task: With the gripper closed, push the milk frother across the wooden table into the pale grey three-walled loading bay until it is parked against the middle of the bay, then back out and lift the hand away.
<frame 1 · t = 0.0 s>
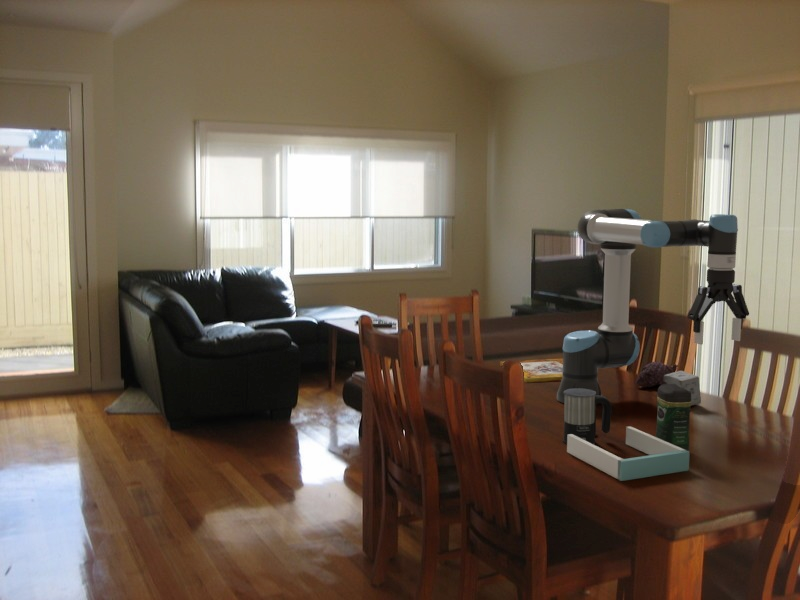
hand: (717, 342, 244), 28 cm above the table, fingers open, 13 cm apart
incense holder: (681, 404, 284), on the table
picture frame: (544, 373, 332), on the table
loading bay: (625, 460, 226), on the table
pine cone: (655, 387, 308), on the table
milk frother: (578, 438, 247), on the table
coffee jar: (671, 451, 235), on the table
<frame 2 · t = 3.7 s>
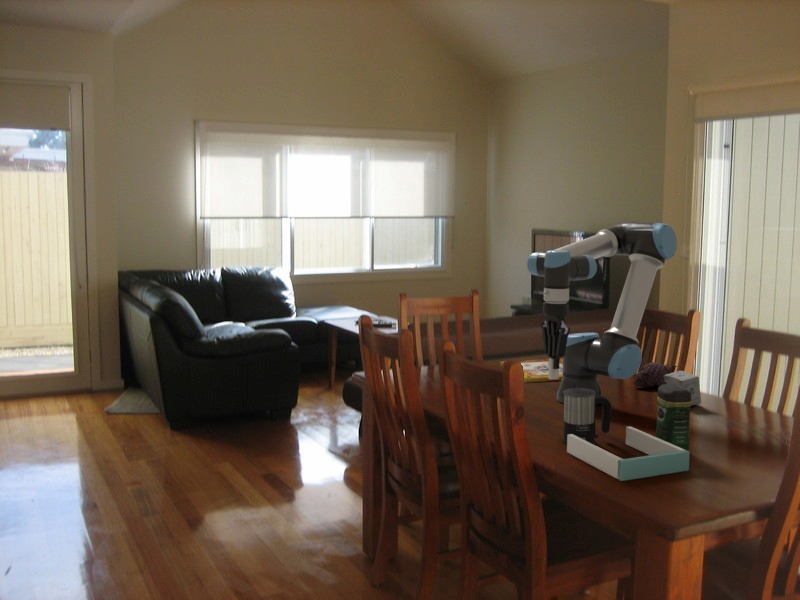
hand: (553, 378, 257), 15 cm above the table, fingers closed
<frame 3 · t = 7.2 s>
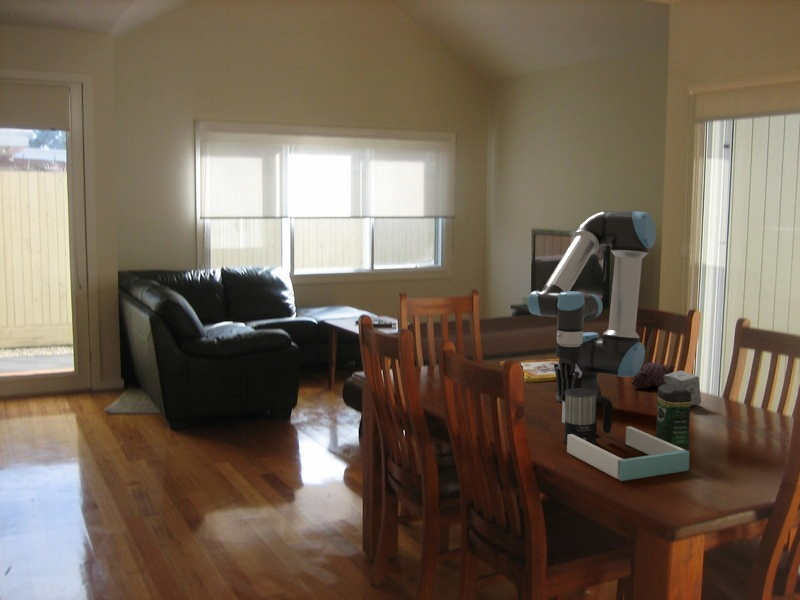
hand: (567, 422, 252), 3 cm above the table, fingers closed
milk frother: (580, 438, 247), on the table, touching gripper
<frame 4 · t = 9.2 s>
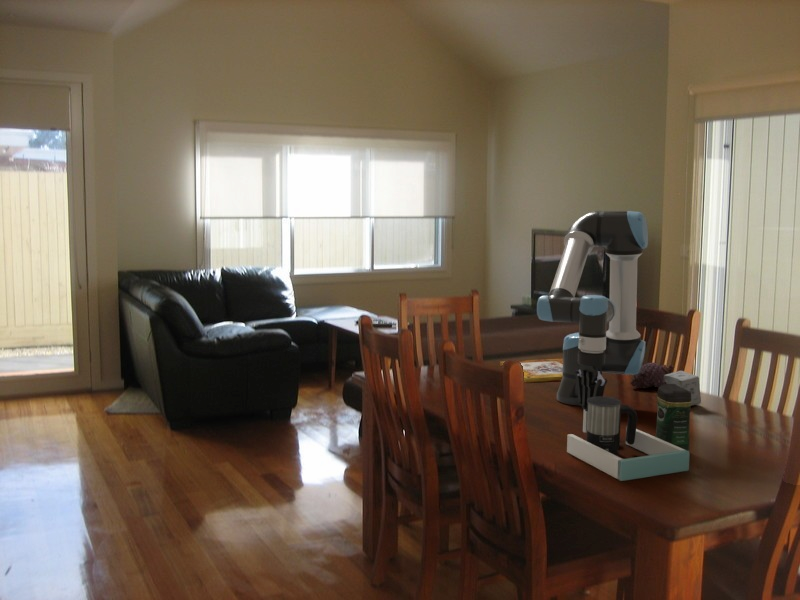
hand: (588, 431, 241), 3 cm above the table, fingers closed
milk frother: (601, 448, 236), on the table, touching gripper, hand
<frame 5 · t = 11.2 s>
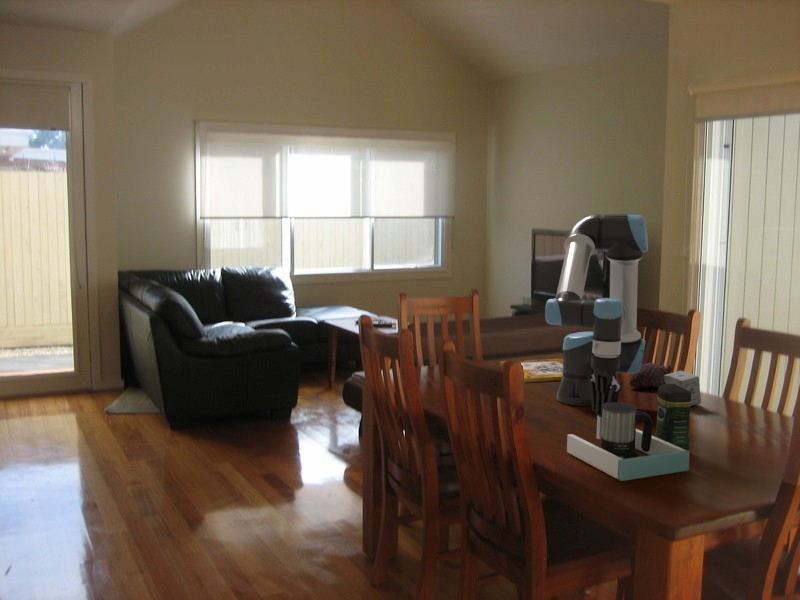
hand: (601, 438, 235), 3 cm above the table, fingers closed
milk frother: (615, 455, 230), on the table, touching gripper, hand
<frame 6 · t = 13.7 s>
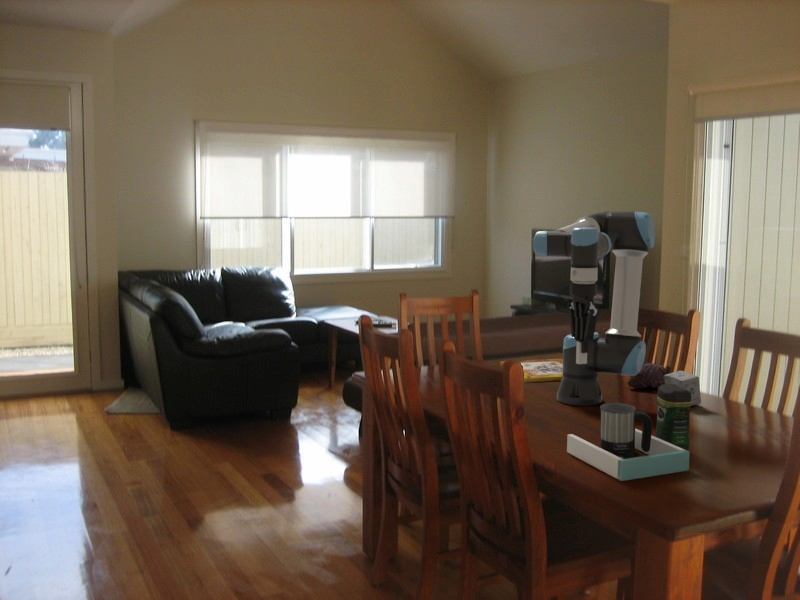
hand: (581, 363, 244), 22 cm above the table, fingers closed
milk frother: (616, 456, 230), on the table
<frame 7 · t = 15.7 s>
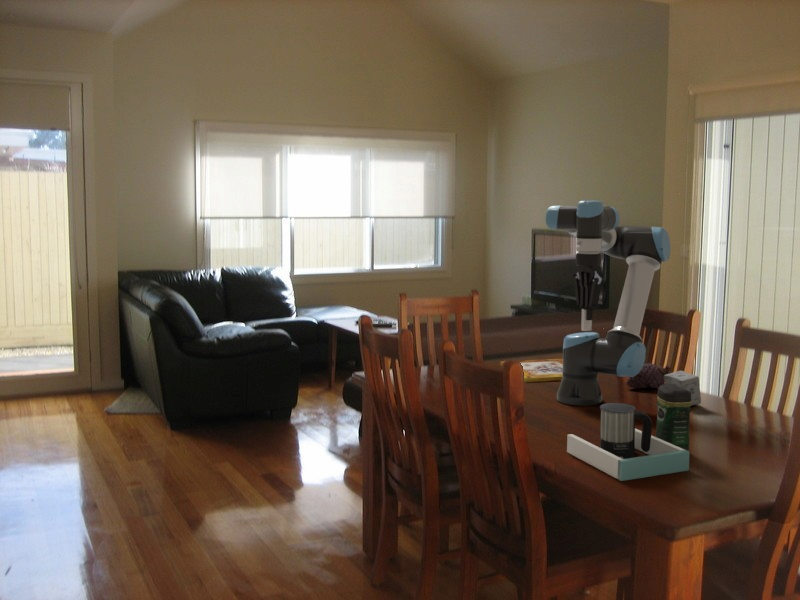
hand: (586, 330, 256), 29 cm above the table, fingers closed
at the end: milk frother inside the target area (4.3 cm from its centre), on the table; milk frother tilted 0° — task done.
